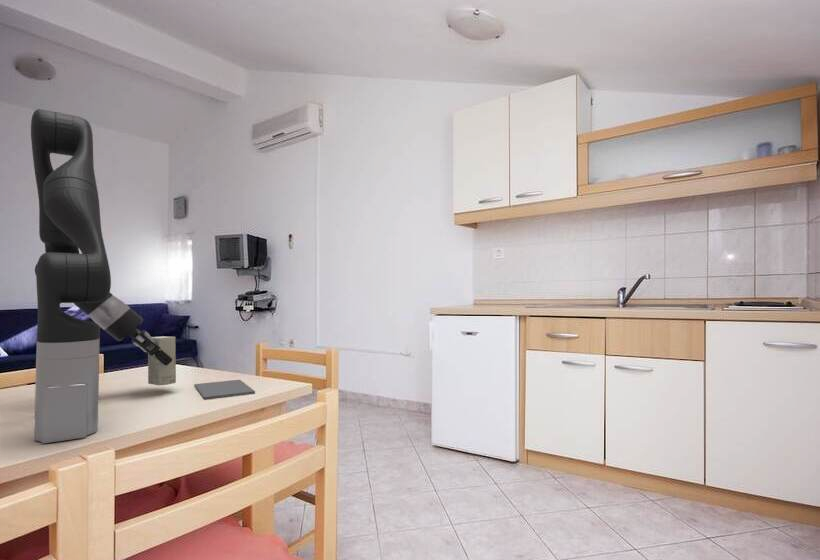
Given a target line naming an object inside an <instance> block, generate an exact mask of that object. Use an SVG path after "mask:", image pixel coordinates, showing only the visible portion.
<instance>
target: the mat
mask: <svg viewBox="0 0 820 560" xmlns="http://www.w3.org/2000/svg"><path fill="white" fill-rule="evenodd" d="M193 385H194V388H195V389H196V390H197V392H198V394H199V395H200V396H201V397H202V399H203V400H204V401H205V400H212V399H213V400H214V399H222V398H230V397H231V398H232V397H236V396H237V397H238V396H245V395H255V394H256V391H255V390H254V389H253V388H252V387H250V386H249V385H248V384H246V383H245V382H243V380H241V379H231V380H224V381H223V380H222V381H214V382H202V383H195V384H193Z"/></svg>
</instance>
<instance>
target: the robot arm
mask: <svg viewBox="0 0 820 560" xmlns="http://www.w3.org/2000/svg"><path fill="white" fill-rule="evenodd" d="M30 141H31V150H32V151H31V152H32V161H33V168H34V169H33V170H34V175H35V183H36V188H37V195H38V208H39V211H38V214H39V216H38V217H39V218H38V220H39V221H38V222H39V223H38V224H39V225H38V229H39V233H38V234H39V240H40V241H41V242H42V243H43V244H44V251H45V252H44V253H42V254H40V256H39V258H38V260H37V263H36V264H35V267H34V274H35V277H36V278H35V279H36V299H37V328H36V329H37V330H36V351H35V352H36V354H35V357H36V358H35V390H34V391H35V392H34V393H35V394H34V434H33V435H34V436H33V437H34V438H33V440H34V441H36V442H41V444H42V445H43V444H49V443H55V442H56V443H57V442H62V441H69V440H75V439H76V440H78V439H85V438H87V437H88V436H89V435H92V434H94V433H96V432H97V431H98V430H99V396H100V395H99V393H100V392H99V391H100V390H99V389H100V388H99V385H100V383H99V381H100V376H99V375H100V346H101V344H100V342H101V341H100V340H101V339H100V338H101V329H102V330H103V331H105V332H106V333H107V334H108V335H110V336H111V337H112V338H114V339H115V340H116V341H118V342H120V341H122V340H123V339H126V338H127V336H129V337H130V338H131V339H132V340H131V343H132V344H133V345H134V346H136V347H138V348H139V349H141V350H142V351H143V352H145V353H147V354H148V353H149V354H150V355H151V356H155V355H156V356H155V357H156V358H157V359H158V360H159V361H160V362H162V363H163V364H164V365H168V364H169V363H170V362H171V361H172V358H171V357H170V356H168V355H167V354H166V353H165V352H164V351H162V349H161V347H159V346H157V345H156V344H157V342H156V341H155V340H154V339H152V338H151V337H152V336H151V334H150V333H149V332H147V331H146V330H145V329H144V330H141V329H138V327H139V326H140V325H141V324H142V323H143V321H144V318H143V317H141V316H140V315H139V314H138V313H137V312H136V311H134V310H133V309H132V308H131V307H130V306H129V305H127V304H126V303H125V302H124V301H123V300H121V299H119V298H118V297H117V296H115V295H114V294H112V293H111V289H112V277H111V276H112V275H111V268H110V264H109V259H108V255H107V251H106V247H105V241H104V237H103V232H102V224H101V211H100V209H101V208H100V207H101V206H100V199H99V191H98V186H97V180H96V176H95V168H94V137H93V129H92V126H91V124H90V122H89V121H88V120H87V119H86V118H83V117H81V116H77V115H73V114H67V113H62V112H58V111H53V110H47V109H41V108H39V109H36V110H34V112H33V114H32V116H31V121H30ZM51 154H54V155H55V154H57V155H63V156H69V157H70V156H71V157H70V158H69V160H67V161H65V162H64V163H63V164H61V165H59V166H58V167H57V168H56V169H54V167H53V164H52V162H51V161H52V160H51ZM61 304H74V305H75V307H77V308H78V309H79V310H81V311H82V312H83V313H85V315H87V316H88V317H89V318H90V319H91V320H92V321H89V320H84V319H81V318H78V317H76V316H73V315H70V314H69V313H66V312H65V311H64V310H63V309H62V308H61ZM153 346H155V347H154V348H153V349H152V350H151V351H150V349H151V348H152V347H153Z"/></svg>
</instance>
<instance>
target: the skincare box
mask: <svg viewBox="0 0 820 560" xmlns="http://www.w3.org/2000/svg"><path fill="white" fill-rule="evenodd" d="M151 338H152V339H154V340H155V341H156V342H157V344H156V345H157V346H159V347H161V349H162V351H164V352H165V353H166V354H167V355H168V356H170V357H171V358H172V361H171V362H170V363H169V364H168V365H164V364H163V363H162V362H160V361H159V360H158V359H157V358H156V357H155V356H156V355H155V356H151V355H150V354H149V353H148V352H147V375H148V376H147V377H148V378H147V379H148V380H147V384H149V385H154V386H167V385H172V384H176V382H177V376H176V375H177V373H176V372H177V369H176V368H177V363H176V361H177V360H176V356H177V355H176V336H167V335H166V336H164V335H162V336H151ZM154 347H155V346H153V347H152V348H151V349H150V351H151V350H152V349H153V348H154Z"/></svg>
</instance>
